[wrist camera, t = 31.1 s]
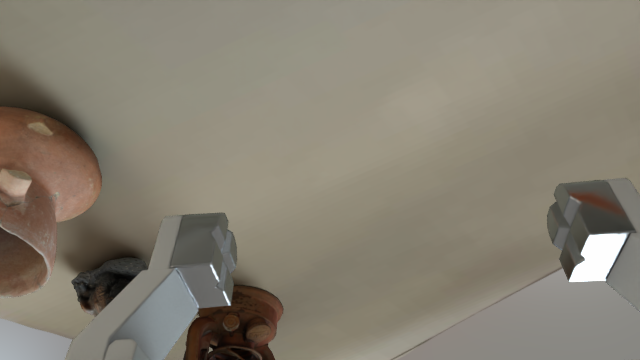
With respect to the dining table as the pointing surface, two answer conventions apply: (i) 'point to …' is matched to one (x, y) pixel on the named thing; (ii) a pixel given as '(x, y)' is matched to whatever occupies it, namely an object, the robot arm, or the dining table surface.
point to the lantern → (236, 328)
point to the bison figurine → (105, 283)
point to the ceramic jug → (39, 194)
